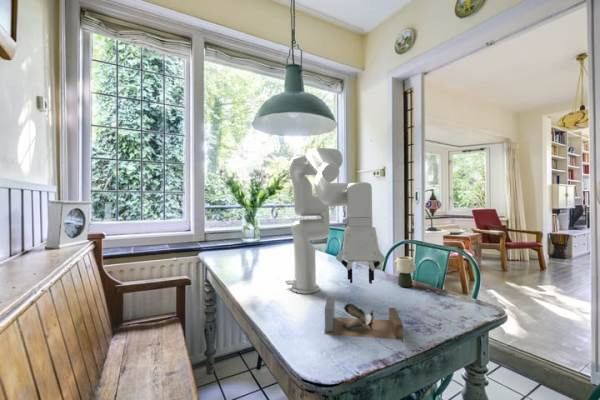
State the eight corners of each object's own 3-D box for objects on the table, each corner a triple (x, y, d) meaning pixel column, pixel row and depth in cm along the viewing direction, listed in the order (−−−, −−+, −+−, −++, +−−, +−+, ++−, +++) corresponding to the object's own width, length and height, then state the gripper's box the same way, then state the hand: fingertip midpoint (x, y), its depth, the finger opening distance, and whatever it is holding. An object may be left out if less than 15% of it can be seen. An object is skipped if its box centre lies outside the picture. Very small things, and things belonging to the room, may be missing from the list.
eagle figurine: (371, 317, 88) (343, 310, 90) (375, 303, 84) (346, 297, 86) (370, 340, 82) (340, 332, 84) (375, 326, 78) (343, 319, 80)
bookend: (325, 332, 81) (324, 308, 81) (327, 317, 91) (327, 296, 91) (333, 332, 81) (332, 309, 81) (334, 318, 91) (334, 297, 91)
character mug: (420, 287, 125) (420, 258, 125) (411, 290, 120) (411, 261, 120) (399, 281, 133) (399, 255, 133) (390, 284, 129) (390, 257, 129)
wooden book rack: (324, 339, 80) (323, 320, 80) (327, 321, 92) (326, 304, 92) (403, 344, 77) (402, 325, 77) (395, 325, 88) (395, 308, 88)
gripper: (330, 224, 82) (332, 285, 82) (390, 224, 79) (391, 287, 79) (332, 221, 89) (333, 277, 89) (386, 221, 87) (387, 279, 87)
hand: (360, 281), depth 84 cm, fingers open, 5 cm apart
